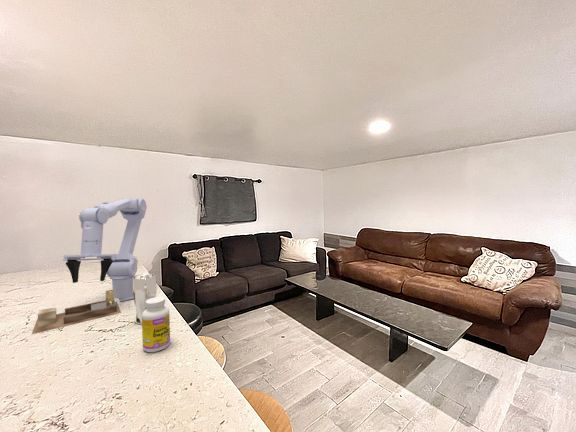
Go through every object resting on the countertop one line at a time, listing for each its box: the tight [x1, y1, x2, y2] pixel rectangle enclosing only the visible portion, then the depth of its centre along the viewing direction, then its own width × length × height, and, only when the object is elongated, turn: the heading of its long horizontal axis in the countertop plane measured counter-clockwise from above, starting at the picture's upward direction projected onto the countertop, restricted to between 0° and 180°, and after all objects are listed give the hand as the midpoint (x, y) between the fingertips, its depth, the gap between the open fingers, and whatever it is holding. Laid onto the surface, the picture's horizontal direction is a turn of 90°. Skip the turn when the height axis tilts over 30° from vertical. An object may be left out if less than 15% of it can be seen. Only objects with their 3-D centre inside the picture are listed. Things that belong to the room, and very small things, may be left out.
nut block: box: [37, 306, 58, 327], centre depth 80 cm, size 4×4×4 cm
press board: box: [31, 299, 122, 335], centre depth 86 cm, size 22×14×4 cm, turn 130°
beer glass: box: [133, 273, 158, 326], centre depth 84 cm, size 7×7×15 cm
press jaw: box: [91, 289, 116, 311], centre depth 90 cm, size 7×7×6 cm
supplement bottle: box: [141, 296, 171, 353], centre depth 68 cm, size 7×7×13 cm
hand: (89, 281), depth 86 cm, fingers open, 7 cm apart
